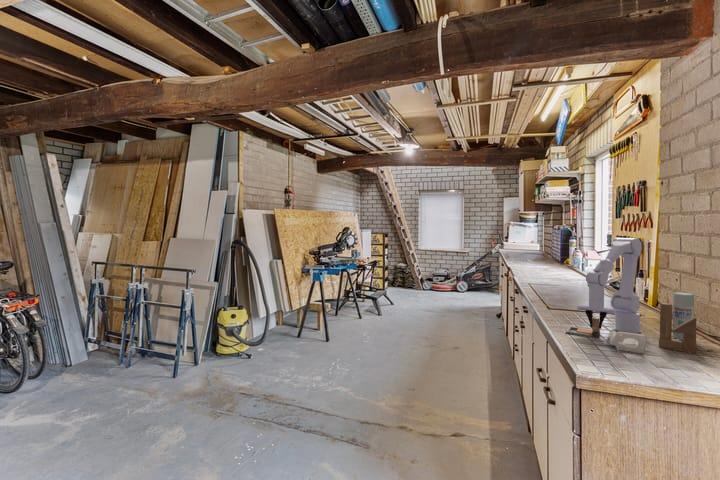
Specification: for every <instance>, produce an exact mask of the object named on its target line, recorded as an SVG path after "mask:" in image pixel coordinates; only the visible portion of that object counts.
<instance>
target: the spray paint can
mask: <svg viewBox="0 0 720 480" xmlns="http://www.w3.org/2000/svg"><path fill="white" fill-rule="evenodd" d="M672 295H673V298H672V301H673V303H672V329H673V328H675V327H677V326H679V325H680V324H682V323H684V322H686V321H687V320H689V319H691V318H693V317H694V309H695V306H694V305H695V295H694V293H690V292H679V291H678V292H673V294H672ZM673 337H674V338H676V339H679V340H680V341H681V340H683V333H676V332H672V338H673ZM674 338H673V339H674Z"/></svg>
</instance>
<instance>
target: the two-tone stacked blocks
mask: <svg viewBox="0 0 720 480" xmlns="http://www.w3.org/2000/svg"><path fill="white" fill-rule="evenodd" d="M599 323H600V317H594V316H593V318H592V329H591V330H592V336H591V337H592V338H600V335H601V329H599Z"/></svg>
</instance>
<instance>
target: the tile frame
mask: <svg viewBox="0 0 720 480" xmlns="http://www.w3.org/2000/svg"><path fill="white" fill-rule="evenodd" d="M578 328H579V327H578V326H572V325H568V327H567V329H566V330H565V334H566V335H573V336H580V337H584V338H590V336H589V334H583V333H577V329H578ZM581 328H582V329H585V328H584V327H581ZM588 329H589V328H588ZM571 330H576V331H571ZM589 330H592V329H589Z"/></svg>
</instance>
